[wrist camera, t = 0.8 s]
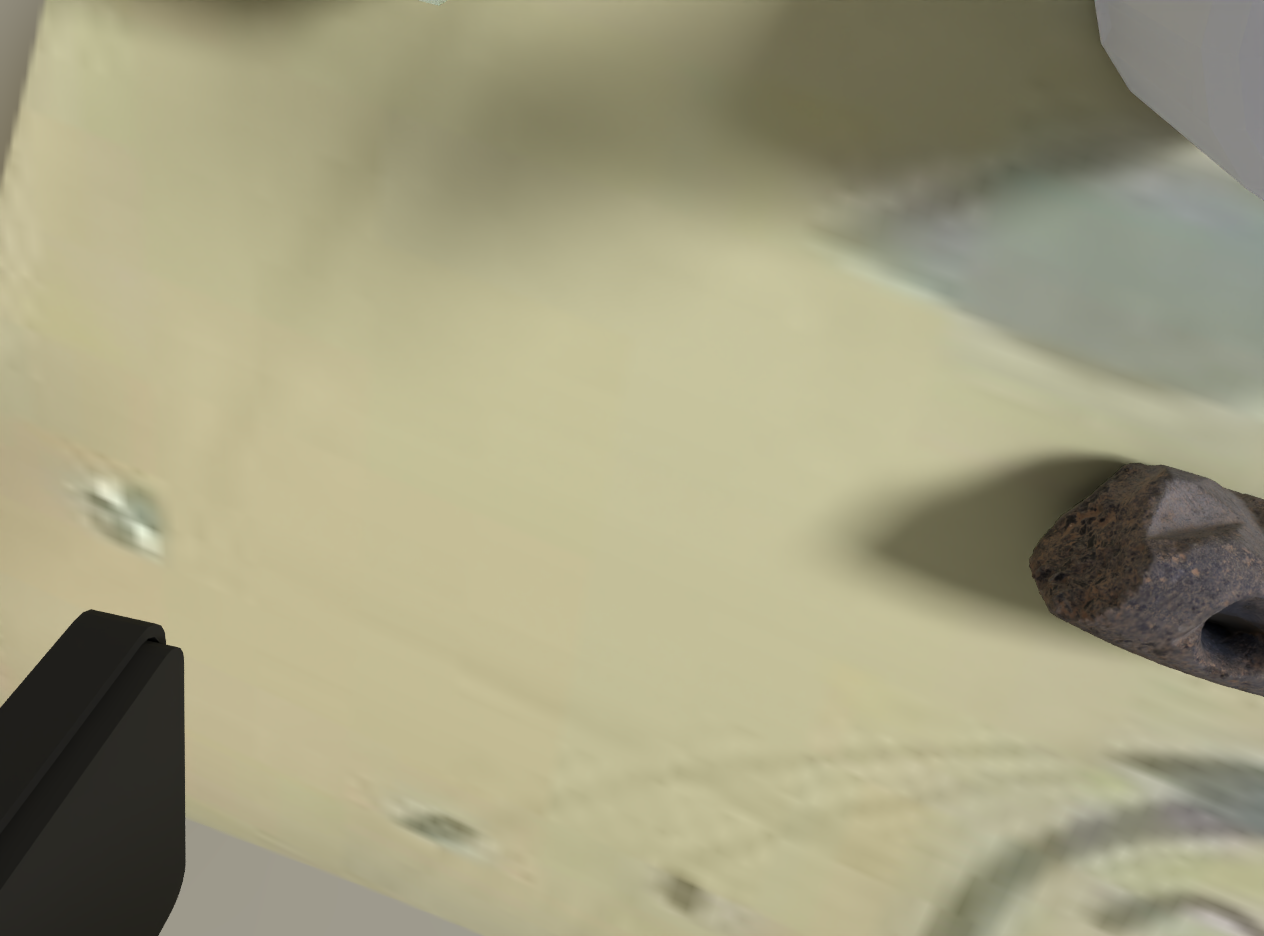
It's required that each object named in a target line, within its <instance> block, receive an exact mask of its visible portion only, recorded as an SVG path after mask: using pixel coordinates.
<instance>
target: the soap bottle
mask: <svg viewBox="0 0 1264 936" xmlns="http://www.w3.org/2000/svg"><path fill="white" fill-rule="evenodd" d="M1094 2H1095V8H1096V15H1097V21H1098V28H1099V34H1100V41H1101V44H1102V46H1103V48H1104V49H1105V51H1106V53H1107V54H1108V56H1109V57H1110V59H1111V61H1112V62H1113V64H1114V66H1115V67H1116V69H1117V71H1118V72H1119V74H1120V76H1121V77H1122V79H1123V80H1124V82H1125V84H1126V85H1127V87H1128V89H1129V90H1130V91H1131V92H1132V93H1133V94H1134V95H1135V96H1137V97H1138V98H1139V99H1140V100H1141V101H1143V102H1144V103H1145V104H1146V105H1147V106H1148V107H1150V108H1151V109H1152V110H1153V111H1154V112H1156V113H1157V114H1158V115H1159V116H1160V117H1162V118H1163V119H1164V120H1165V121H1166V122H1168V123H1169V124H1170V125H1171V126H1172V127H1174V128H1175V129H1176V130H1177V131H1178V132H1179V133H1181V134H1182V135H1183V136H1184V137H1185V138H1187V139H1188V140H1189V141H1190V142H1191V143H1193V144H1194V145H1195V146H1196V147H1197V148H1199V149H1200V150H1201V151H1202V152H1203V153H1205V154H1206V155H1207V156H1208V157H1209V158H1210V159H1212V160H1213V161H1214V162H1215V163H1216V164H1218V165H1219V166H1220V167H1221V168H1222V169H1224V170H1225V171H1226V172H1227V173H1228V174H1230V175H1231V176H1232V177H1233V178H1234V179H1236V180H1237V181H1238V182H1239V183H1240V184H1242V185H1243V186H1244V187H1245V188H1246V189H1248V190H1249V191H1251V192H1252V193H1254V194H1255V195H1256V196H1258V197H1259V198H1261V199H1262V200H1264V0H1094Z"/></svg>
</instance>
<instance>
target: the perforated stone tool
mask: <svg viewBox="0 0 1264 936" xmlns="http://www.w3.org/2000/svg"><path fill="white" fill-rule="evenodd" d="M1029 562H1030V565H1029V567H1030V568H1031V571H1032V577H1033V578H1034V579H1035V581H1036V585H1037V587H1038V590H1039V591H1040V592H1039V593H1040V594H1041V595H1042V598H1043V600H1044V601H1045V603H1046V605H1047V607H1048V609H1049V611H1050V612H1051V613H1052V614H1053V615H1055V616H1056V617H1058V618H1060V619H1062V620H1064V621H1066V622H1069V623H1070V624H1072V625H1074V626H1077V627H1079V628H1080V629H1082V630H1083V631H1086V632H1088V633H1090V634H1092V635H1094V636H1096V637H1098V638H1100V639H1103V640H1104V641H1106V642H1108V643H1111V644H1113V645H1115V646H1118V647H1120V648H1122V649H1125V650H1127V651H1129V652H1132V653H1134V654H1137V655H1139V656H1142V657H1144V658H1146V659H1149V660H1152V661H1154V662H1156V663H1158V664H1162V665H1164V666H1167V667H1169V668H1173V669H1176V670H1178V671H1181V672H1184V673H1186V674H1190V675H1193V676H1195V677H1198V678H1202V679H1205V680H1208V681H1210V682H1213V683H1217V684H1220V685H1223V686H1227V687H1231V688H1235V689H1238V690H1242V691H1245V692H1249V693H1252V694H1256V695H1260V696H1263V697H1264V499H1261V498H1258V497H1254V496H1251V495H1248V494H1241V493H1239V492H1236V491H1232V490H1230V489H1226V488H1223V487H1222V486H1220V485H1219V484H1218V483H1216V482H1215V481H1213V480H1211V479H1208V478H1206V477H1202V476H1199V475H1196V474H1193V473H1189V472H1186V471H1182V470H1179V469H1176V468H1172V467H1169V466H1164V465H1156V466H1153V465H1152V466H1151V465H1149V466H1147V465H1144V464H1141V463H1130V464H1127V465H1123V466H1122V467H1121V468H1120V469H1119V470H1118V471H1117V472H1116V473H1115V474H1114V475H1113V476H1112V477H1110V478H1109V479H1107V480H1106V482H1105V483H1103V484H1102V485H1101V486H1100V487H1099V488H1097V489H1096V490H1095V491H1094V492H1093V493H1092V494H1091V495H1090V496H1089V497H1087V498H1086V499H1084V500H1083V501H1082V502H1080V503H1078V504H1077V505H1075V506H1074V507H1073V508H1072V509H1071V510H1069V511H1067V512H1066V513H1064V514H1062V515H1061V516H1060V518H1059V519H1058V520H1057V521H1056V522H1055V525H1054V526H1053V527H1052V528H1051V529H1049V530H1048V531H1047V533H1046V534H1045V535H1044V536H1043V537H1042V538H1041V539H1040V541H1039V542H1038V544H1037V546H1036V547H1035V548H1034V550H1033V554H1032V556H1031V557H1030V559H1029Z"/></svg>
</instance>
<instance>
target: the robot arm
mask: <svg viewBox="0 0 1264 936" xmlns="http://www.w3.org/2000/svg"><path fill="white" fill-rule="evenodd" d="M184 872H185V733H184V657H183V652H182V650H181V648H178V647H174V646H170V645H166V639H165V632H164V630H163V628H162V626H161V625H158V624H155V623H150V622H146V621H141V620H137V619H132V618H128V617H123V616H119V615H114V614H110V613H105V612H101V611H96V610H92V609H91V610H88V611H86V612H83V613H82V614H81V615H80V616H79V617H78V618H77V619H76V620H75V621H74V622H73V623H72V624H71V625H70V626H69V628H68V629H67V630H66V631H65V632H64V633H63V635H62V636H61V637H60V638H59V639H58V641H57V642H56V643H55V644H54V645H53V646H52V648H51V649H50V650H49V651H48V652H47V653H46V655H45V656H44V657H43V658H42V659H41V661H40V662H39V663H38V664H37V665H36V666H35V668H34V669H33V670H32V671H31V672H30V673H29V675H28V676H27V677H26V678H25V679H24V681H23V682H22V683H21V684H20V685H19V686H18V688H17V689H16V690H15V691H14V692H13V693H12V695H11V696H10V697H9V698H8V699H7V701H6V702H5V703H4V704H3V705H2V706H1V708H0V936H158V935H159V933H160V932H161V930H162V928H163V926H164V924H165V922H166V921H167V919H168V917H169V915H170V913H171V911H172V909H173V907H174V905H175V902H176V900H177V897H178V895H179V892H180V889H181V885H182V882H183V877H184Z"/></svg>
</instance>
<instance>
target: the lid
mask: <svg viewBox="0 0 1264 936" xmlns="http://www.w3.org/2000/svg"><path fill="white" fill-rule="evenodd" d="M420 1H423V2H427V3H431V4H435V5H438V6H439V5H440V4H442V3H444V2H445V1H447V0H420Z"/></svg>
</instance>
